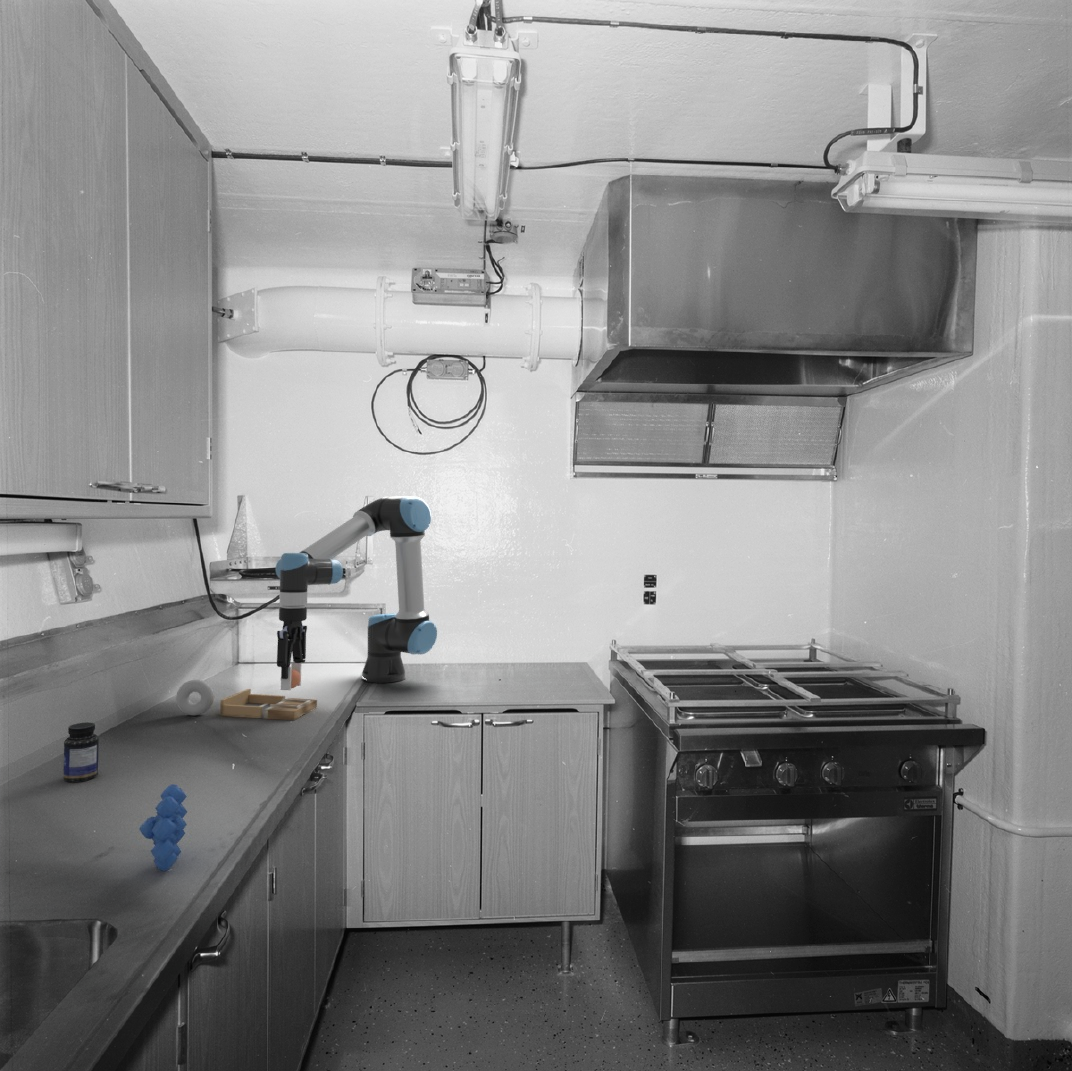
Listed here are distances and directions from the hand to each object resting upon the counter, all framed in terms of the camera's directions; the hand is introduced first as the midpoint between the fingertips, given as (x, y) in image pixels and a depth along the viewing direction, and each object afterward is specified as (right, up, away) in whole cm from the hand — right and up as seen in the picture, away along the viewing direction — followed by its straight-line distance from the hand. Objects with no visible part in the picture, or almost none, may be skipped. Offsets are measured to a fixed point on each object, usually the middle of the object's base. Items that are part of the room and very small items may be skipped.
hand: (290, 687), depth 200 cm
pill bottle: (-25, -7, -54) cm, 60 cm away
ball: (0, +3, 0) cm, 2 cm away
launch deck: (0, -7, 0) cm, 7 cm away
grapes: (+11, -8, -90) cm, 91 cm away
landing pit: (-11, -7, +2) cm, 13 cm away
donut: (-25, -7, -4) cm, 27 cm away
